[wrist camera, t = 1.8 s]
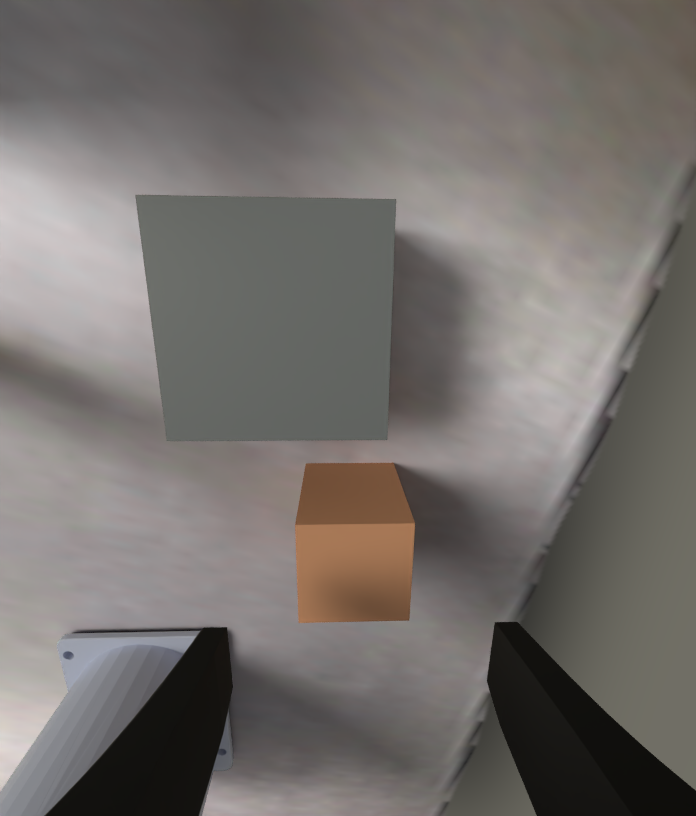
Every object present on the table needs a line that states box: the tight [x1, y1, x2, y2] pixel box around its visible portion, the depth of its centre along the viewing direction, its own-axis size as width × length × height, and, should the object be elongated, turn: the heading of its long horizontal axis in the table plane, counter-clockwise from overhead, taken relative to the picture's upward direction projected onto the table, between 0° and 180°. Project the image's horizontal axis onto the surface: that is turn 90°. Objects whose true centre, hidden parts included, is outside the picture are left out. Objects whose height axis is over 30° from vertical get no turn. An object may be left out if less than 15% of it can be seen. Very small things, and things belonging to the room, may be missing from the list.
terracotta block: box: [295, 463, 415, 623], centre depth 16 cm, size 4×4×5 cm
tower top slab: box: [136, 195, 396, 441], centre depth 13 cm, size 7×7×2 cm
